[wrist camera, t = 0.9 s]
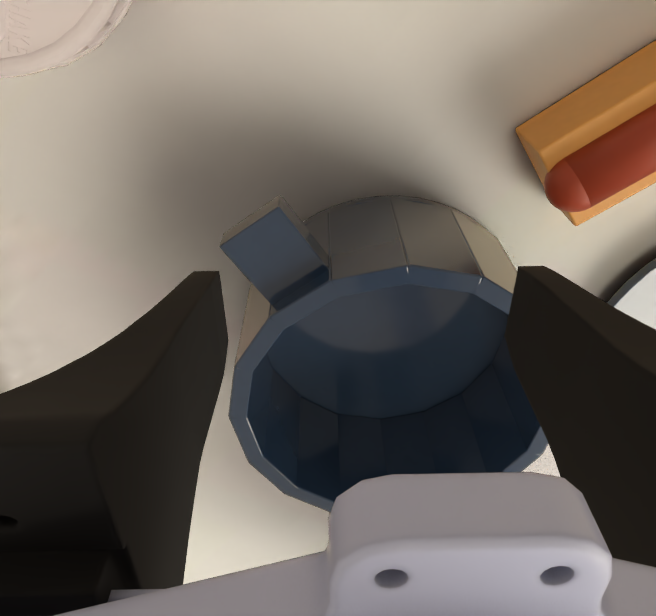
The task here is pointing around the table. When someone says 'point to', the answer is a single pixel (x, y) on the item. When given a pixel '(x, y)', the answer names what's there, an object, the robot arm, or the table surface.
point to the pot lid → (639, 295)
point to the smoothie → (53, 32)
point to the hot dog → (598, 139)
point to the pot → (375, 347)
